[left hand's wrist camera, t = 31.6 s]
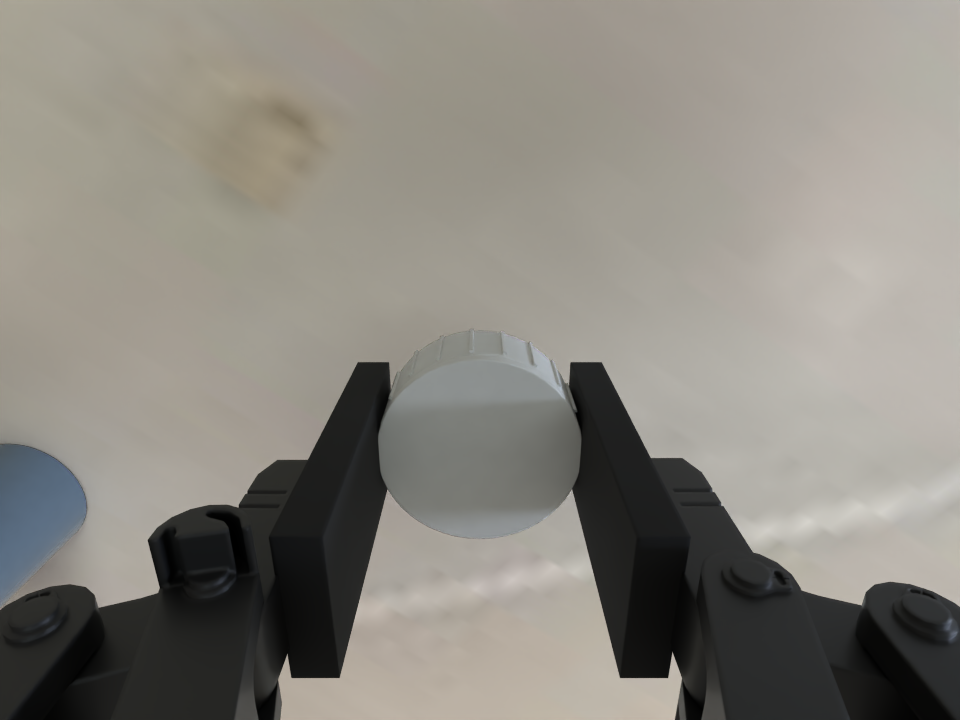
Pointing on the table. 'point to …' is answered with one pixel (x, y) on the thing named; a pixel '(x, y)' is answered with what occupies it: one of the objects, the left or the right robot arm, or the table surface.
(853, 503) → the table surface
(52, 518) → the bottle
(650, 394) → the table surface
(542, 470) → the cap
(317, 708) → the table surface
